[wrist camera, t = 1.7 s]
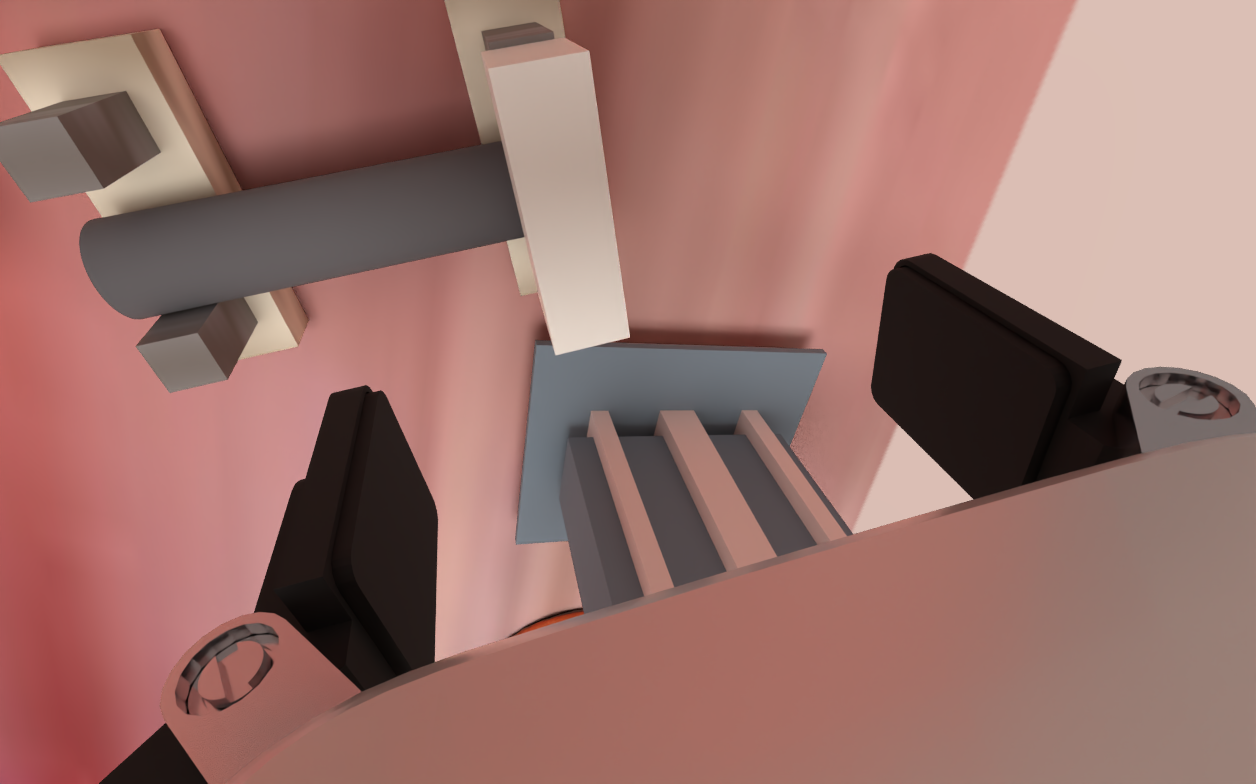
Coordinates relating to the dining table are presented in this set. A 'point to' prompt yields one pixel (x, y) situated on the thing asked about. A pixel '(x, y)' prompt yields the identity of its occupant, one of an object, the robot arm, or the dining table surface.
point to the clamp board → (196, 161)
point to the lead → (300, 231)
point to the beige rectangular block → (560, 187)
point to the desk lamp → (668, 463)
